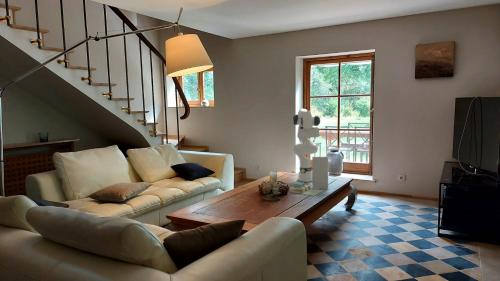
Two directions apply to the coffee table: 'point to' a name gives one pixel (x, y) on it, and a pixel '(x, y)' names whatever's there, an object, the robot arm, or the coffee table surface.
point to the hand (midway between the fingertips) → (308, 142)
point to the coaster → (299, 184)
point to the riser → (300, 189)
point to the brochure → (320, 172)
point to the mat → (313, 192)
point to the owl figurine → (271, 191)
